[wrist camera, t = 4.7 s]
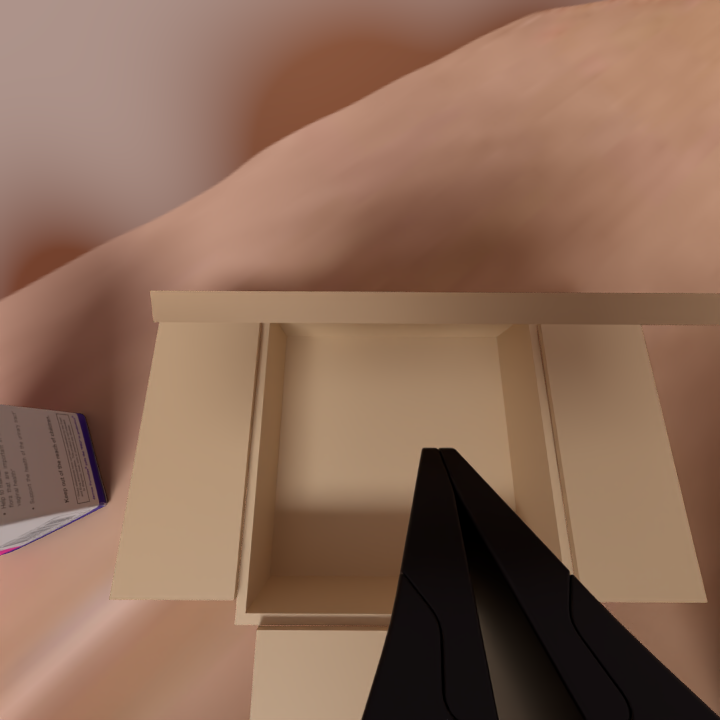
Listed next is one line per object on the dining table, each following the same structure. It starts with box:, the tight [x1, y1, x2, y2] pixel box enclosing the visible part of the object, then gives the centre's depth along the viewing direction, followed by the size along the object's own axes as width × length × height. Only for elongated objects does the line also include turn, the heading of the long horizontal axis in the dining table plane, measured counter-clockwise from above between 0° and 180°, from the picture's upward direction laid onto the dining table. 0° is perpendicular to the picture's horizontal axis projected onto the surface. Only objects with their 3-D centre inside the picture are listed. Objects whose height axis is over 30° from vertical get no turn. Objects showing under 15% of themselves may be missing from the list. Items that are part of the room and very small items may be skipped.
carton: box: [109, 322, 708, 720], centre depth 16 cm, size 19×24×4 cm
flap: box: [150, 291, 720, 325], centre depth 11 cm, size 1×12×10 cm, turn 91°
